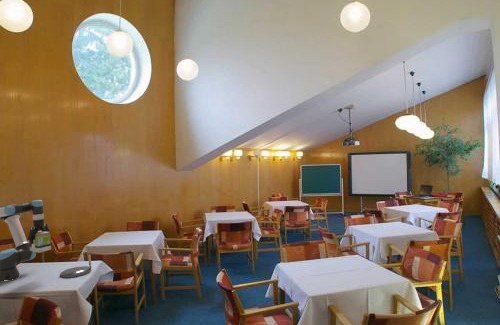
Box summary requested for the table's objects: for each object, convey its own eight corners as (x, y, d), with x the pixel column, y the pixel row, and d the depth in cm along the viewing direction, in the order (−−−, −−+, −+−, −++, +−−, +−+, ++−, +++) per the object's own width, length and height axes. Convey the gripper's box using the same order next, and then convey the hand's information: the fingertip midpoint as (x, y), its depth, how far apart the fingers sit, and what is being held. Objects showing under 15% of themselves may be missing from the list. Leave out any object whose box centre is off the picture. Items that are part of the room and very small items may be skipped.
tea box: (51, 249, 266) (50, 231, 265) (38, 253, 257) (37, 234, 257) (42, 247, 274) (41, 230, 273) (29, 250, 265) (28, 232, 265)
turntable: (57, 279, 259) (56, 263, 259) (62, 270, 280) (61, 255, 280) (90, 274, 268) (89, 258, 267) (92, 266, 289) (91, 251, 289)
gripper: (28, 222, 252) (30, 250, 253) (54, 216, 275) (56, 241, 276) (21, 222, 254) (23, 249, 255) (47, 216, 277) (49, 241, 278)
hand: (40, 245), depth 265 cm, fingers closed on tea box, 11 cm apart
